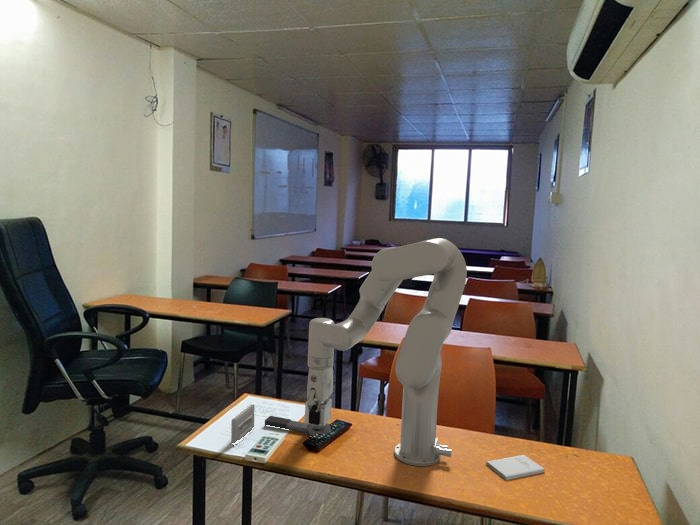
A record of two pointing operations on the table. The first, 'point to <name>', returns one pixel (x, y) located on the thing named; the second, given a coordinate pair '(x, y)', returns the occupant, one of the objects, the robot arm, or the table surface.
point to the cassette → (242, 424)
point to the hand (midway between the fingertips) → (318, 418)
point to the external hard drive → (515, 467)
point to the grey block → (324, 412)
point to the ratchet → (297, 426)
